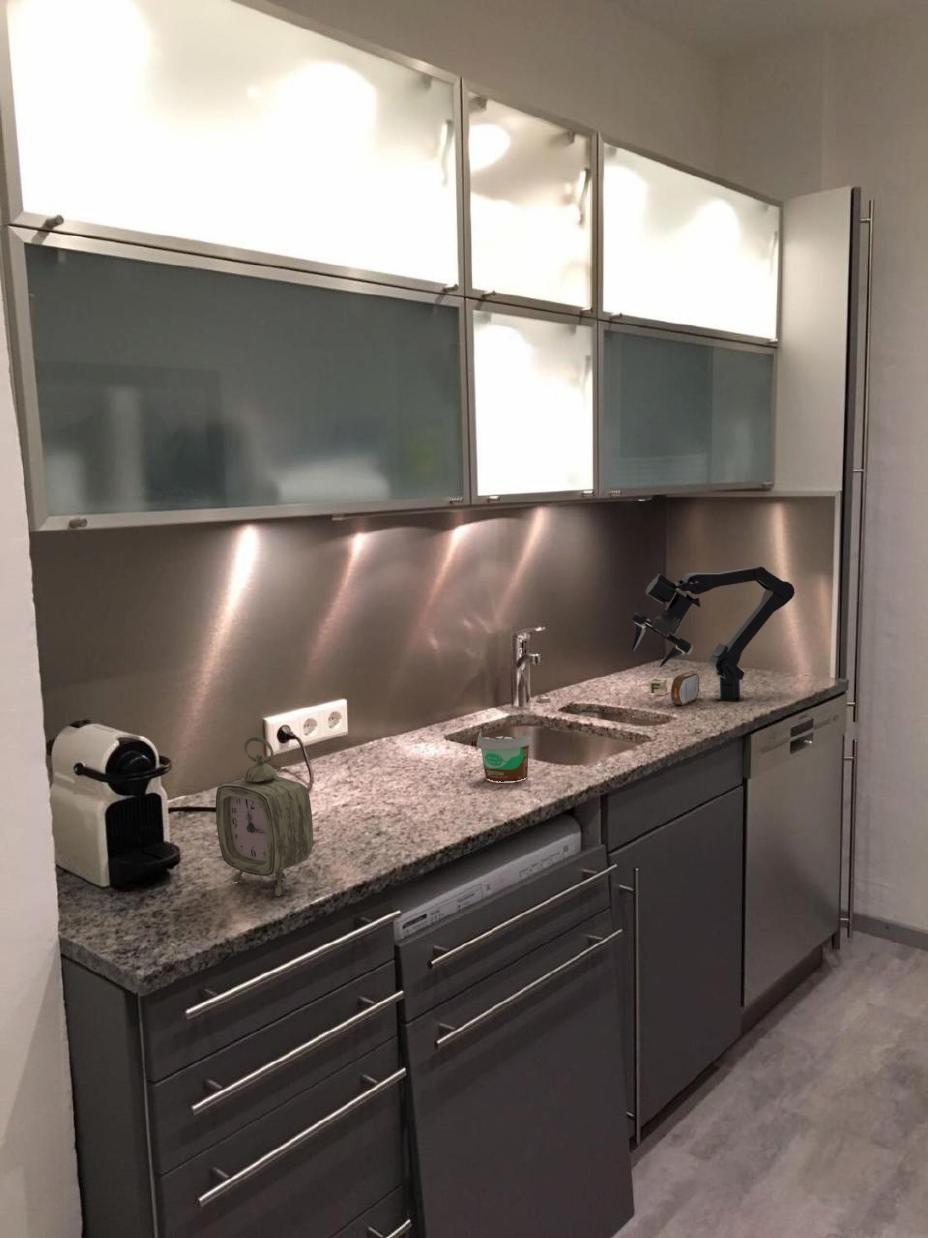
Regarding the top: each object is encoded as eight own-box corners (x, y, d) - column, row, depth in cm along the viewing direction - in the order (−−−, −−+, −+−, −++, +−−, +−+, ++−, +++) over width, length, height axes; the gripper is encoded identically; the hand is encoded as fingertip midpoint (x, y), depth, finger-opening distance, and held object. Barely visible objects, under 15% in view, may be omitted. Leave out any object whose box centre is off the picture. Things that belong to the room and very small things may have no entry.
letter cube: (653, 693, 307) (652, 678, 307) (667, 693, 305) (667, 678, 305) (648, 695, 303) (648, 680, 302) (663, 696, 301) (663, 681, 300)
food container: (470, 784, 220) (468, 739, 219) (480, 776, 226) (478, 732, 224) (524, 787, 215) (522, 741, 214) (533, 779, 221) (531, 734, 220)
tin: (691, 697, 297) (690, 669, 296) (701, 698, 295) (701, 669, 294) (670, 707, 285) (669, 678, 284) (680, 708, 283) (679, 678, 282)
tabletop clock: (221, 885, 168) (208, 738, 166) (264, 868, 175) (252, 726, 172) (279, 903, 159) (266, 747, 156) (321, 884, 166) (310, 735, 163)
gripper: (643, 591, 284) (613, 638, 285) (700, 625, 277) (670, 673, 278) (649, 597, 294) (620, 643, 295) (705, 630, 287) (675, 677, 288)
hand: (646, 659), depth 289 cm, fingers open, 9 cm apart
